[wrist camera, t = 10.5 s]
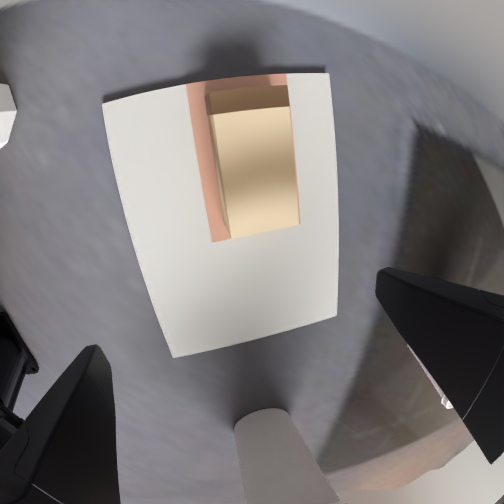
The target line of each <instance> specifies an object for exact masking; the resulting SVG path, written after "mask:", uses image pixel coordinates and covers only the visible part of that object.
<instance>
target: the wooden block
mask: <svg viewBox="0 0 504 504" xmlns="http://www.w3.org/2000/svg"><path fill="white" fill-rule="evenodd" d="M205 103H206V110H207V116H208V121H209V128H210V135H211V141H212V148H213V155H214V162H215V168H216V175H217V181H218V188H219V194H220V201H221V207H222V213H223V220H224V225H225V227H226V229H227V231H228V233H229V235H230V237H231V239H234V238H239V237H244V236H248V235H253V234H258V233H263V232H268V231H273V230H277V229H282V228H287V227H292V226H297V225H299V216H298V201H297V187H296V174H295V162H294V150H293V140H292V129H291V119H290V110H289V106H290V103H289V94H288V86H287V85H276V86H261V87H249V88H239V89H230V90H222V91H214V92H209V93H208V94H207V95H206V96H205Z"/></svg>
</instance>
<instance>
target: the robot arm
mask: <svg viewBox="0 0 504 504" xmlns="http://www.w3.org/2000/svg"><path fill="white" fill-rule="evenodd" d="M375 293H376V297H377V299H378V300H379V302H380V304H381V305H382V307H383V308H384V310H385V311H386V313H387V315H388V316H389V318H390V319H391V321H392V323H393V324H394V326H395V327H396V329H397V330H398V332H399V333H400V335H401V336H402V337H403V339H404V340H405V341H406V342H407V344H408V345H409V346H410V348H411V349H412V350H413V352H414V353H415V354H416V356H417V357H418V358H419V360H420V361H421V362H422V364H423V365H424V367H425V368H426V369H427V371H428V372H429V373H430V375H431V376H432V377H433V379H434V380H435V382H436V383H437V384H438V386H439V387H440V389H441V390H442V392H443V393H444V394H445V396H446V397H447V399H448V400H449V402H450V403H451V404H452V406H453V407H454V409H455V410H456V412H457V413H458V415H459V416H460V418H461V419H462V420H463V422H464V424H465V425H466V427H467V428H468V430H469V432H470V433H471V435H472V436H473V438H474V439H475V441H476V442H477V444H478V445H479V447H480V449H481V450H482V452H483V453H484V455H485V457H486V459H487V460H488V462H489V463H490V464H493V463H494V462H495V461H496V460H497V459H498V458H499V457H500V456H501V455H502V454H503V453H504V295H499V294H495V293H491V292H487V291H483V290H478V289H475V288H471V287H467V286H463V285H459V284H456V283H452V282H448V281H444V280H440V279H436V278H432V277H428V276H424V275H419V274H415V273H411V272H407V271H403V270H399V269H395V268H391V267H387V268H384V269H381V270H379V271H378V272H377V278H376V289H375ZM3 318H4V319H3ZM38 370H39V366H38V365H37V363H36V362H35V360H34V359H33V357H32V356H31V354H30V353H29V351H28V349H27V348H26V346H25V345H24V343H23V341H22V340H21V338H20V336H19V335H18V333H17V331H16V330H15V328H14V326H13V324H12V323H11V321H10V319H9V317H8V315H7V314H6V313H4V312H0V504H121V503H120V493H119V483H118V470H117V453H116V416H115V403H114V394H113V383H112V371H111V366H110V364H109V362H108V360H107V358H106V357H105V355H104V353H103V351H102V349H101V348H100V346H99V345H97V344H95V345H90V346H86V347H85V348H84V349H83V350H82V351H81V352H80V353H79V355H78V356H77V357H76V358H75V359H74V360H73V362H72V363H71V364H70V365H69V366H68V368H67V369H66V370H65V371H64V372H63V373H62V375H61V376H60V377H59V378H58V379H57V381H56V382H55V383H54V384H53V386H52V387H51V388H50V389H49V390H48V392H47V393H46V394H45V395H44V397H43V398H42V399H41V400H40V402H39V403H38V404H37V405H36V407H35V408H34V409H33V410H32V412H31V413H30V414H29V415H28V417H27V418H26V419H25V420H23V419H22V418H19V417H18V416H17V415H16V414H14V413H13V409H14V406H15V403H16V399H17V396H18V393H19V391H20V388H21V385H22V382H23V379H24V377H25V374H34V373H38ZM495 504H504V495H503V496H502V498H500V499H499V500H498V501H497V502H496V503H495Z"/></svg>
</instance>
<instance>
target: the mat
mask: <svg viewBox="0 0 504 504" xmlns="http://www.w3.org/2000/svg"><path fill="white" fill-rule="evenodd" d="M276 85H287V86H288V94H289V103H290V106H289V110H290V119H291V129H292V140H293V150H294V162H295V174H296V187H297V201H298V216H299V225H297V226H292V227H287V228H282V229H277V230H273V231H268V232H263V233H258V234H253V235H248V236H244V237H239V238H234V239H231V237H230V235H229V233H228V231H227V229H226V227H225V225H224V220H223V213H222V207H221V201H220V194H219V188H218V181H217V175H216V168H215V162H214V155H213V148H212V141H211V135H210V128H209V121H208V116H207V110H206V103H205V96H206V95H207V94H208V93H209V92H214V91H222V90H230V89H239V88H249V87H261V86H276ZM102 108H103V115H104V121H105V127H106V132H107V138H108V143H109V148H110V153H111V158H112V163H113V167H114V172H115V176H116V181H117V185H118V189H119V193H120V197H121V201H122V205H123V209H124V213H125V217H126V220H127V224H128V228H129V231H130V235H131V238H132V242H133V245H134V249H135V252H136V255H137V258H138V262H139V265H140V268H141V271H142V274H143V277H144V280H145V283H146V286H147V289H148V292H149V295H150V298H151V301H152V304H153V307H154V309H155V312H156V315H157V318H158V320H159V323H160V326H161V328H162V331H163V334H164V336H165V339H166V341H167V344H168V346H169V349H170V351H171V354H172V356H173V358H177V357H182V356H186V355H191V354H196V353H200V352H205V351H209V350H214V349H218V348H222V347H227V346H231V345H235V344H239V343H243V342H247V341H251V340H255V339H258V338H262V337H266V336H270V335H273V334H277V333H281V332H284V331H288V330H291V329H295V328H298V327H301V326H305V325H308V324H312V323H315V322H318V321H321V320H325V319H328V318H331V317H334V316H337V297H338V259H339V221H338V183H337V161H336V145H335V131H334V119H333V108H332V97H331V88H330V79H329V73H292V74H267V75H253V76H242V77H232V78H223V79H216V80H208V81H202V82H195V83H189V84H184V85H179V86H173V87H168V88H163V89H159V90H154V91H149V92H145V93H141V94H137V95H133V96H129V97H125V98H121V99H117V100H114V101H110V102H107V103H103V104H102Z"/></svg>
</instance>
